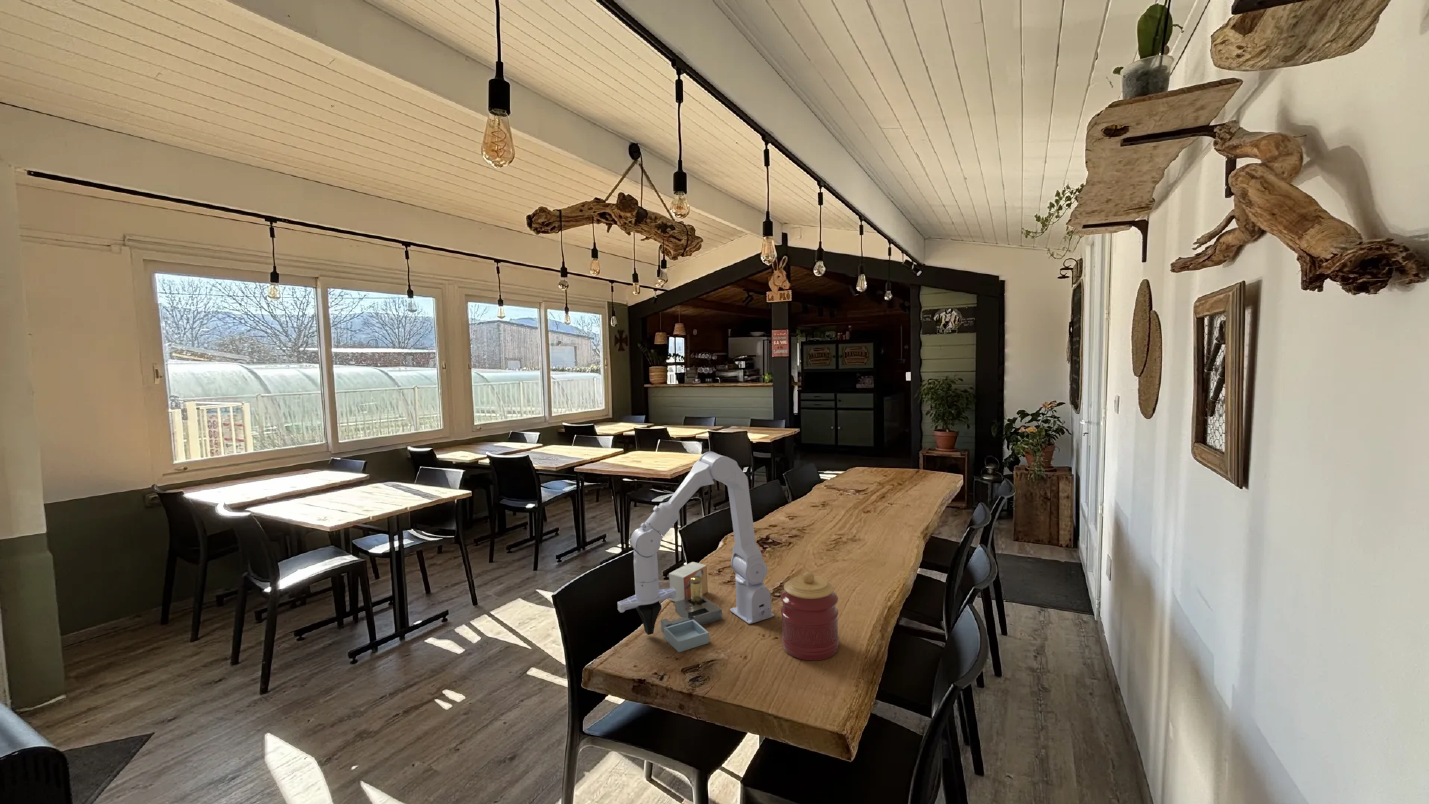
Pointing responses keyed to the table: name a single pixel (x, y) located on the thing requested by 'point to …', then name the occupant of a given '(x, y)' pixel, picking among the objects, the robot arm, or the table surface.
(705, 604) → the socket block
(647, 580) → the robot arm
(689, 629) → the tray
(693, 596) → the gold metallic cylinder
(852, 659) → the table surface
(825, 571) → the table surface
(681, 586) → the small box
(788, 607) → the canister
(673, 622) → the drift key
